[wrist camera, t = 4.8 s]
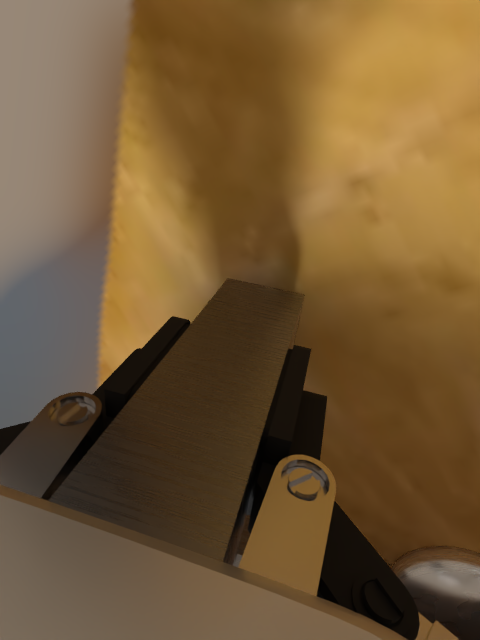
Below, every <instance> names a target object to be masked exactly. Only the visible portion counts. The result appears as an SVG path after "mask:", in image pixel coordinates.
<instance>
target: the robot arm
mask: <svg viewBox="0 0 480 640" xmlns="http://www.w3.org/2000/svg"><path fill="white" fill-rule="evenodd" d="M189 326H190V321H189V320H187V319H182V318H178V317H174V316H172V317H171V318H170V319H169V320H168V321H167V322H166V323H165V324H164V325H163V326H162V327H161V329H160V330H159V331H158V332H157V333H156V334H155V335H154V336H153V337H152V338H151V339H150V340H149V341H148V343H147V344H146V345H145V346H144V347H143V348H142V349H140V348H139V349H136V350H135V351H133V353H132V354H131V355H130V356H129V357H128V358H127V359H126V360H125V361H124V362H123V363H122V364H121V365H120V366H119V367H118V368H117V369H116V370H115V371H114V372H113V373H112V375H111V376H110V377H109V378H108V379H107V380H106V381H105V382H104V383H103V384H102V385H101V386H100V387H99V388H98V389H97V390H96V391H95V392H94V393H93V394H89V393H86V392H71V393H67V394H64V395H60V396H58V397H56V398H55V399H53V400H51V401H50V402H49V403H48V404H47V405H46V406H45V407H44V408H43V409H42V410H41V411H40V412H39V413H38V415H37V416H36V417H35V418H34V419H33V420H32V421H31V422H26V423H22V424H18V425H15V426H10V427H7V428H3V429H0V640H459V639H458V638H457V637H456V636H455V635H453V634H452V633H451V632H450V631H449V630H447V629H446V628H445V627H444V626H442V625H441V624H440V623H439V622H438V621H435V622H434V623H433V624H432V623H431V622H430V621H428V620H427V619H426V618H425V617H424V616H423V615H421V614H420V613H419V612H418V609H417V607H416V604H415V602H414V599H413V597H412V596H411V594H410V593H409V591H408V590H407V588H406V587H405V585H404V584H403V583H402V582H401V581H400V579H399V578H398V577H397V576H396V574H395V573H394V572H393V571H392V570H391V568H390V567H389V566H388V565H387V564H386V562H385V561H384V560H383V559H382V558H381V556H380V555H379V554H378V553H377V551H376V550H375V549H374V548H373V547H372V545H371V544H370V543H369V542H368V541H367V539H366V538H365V537H364V536H363V534H362V533H361V532H360V531H359V530H358V528H357V527H356V526H355V525H354V524H353V522H352V521H351V520H350V519H349V518H348V516H347V515H346V514H345V513H344V511H343V510H342V509H341V508H340V507H339V505H338V504H337V503H336V502H335V501H334V500H335V494H336V481H335V479H334V476H333V474H332V473H331V471H330V470H329V469H328V467H327V466H325V465H324V464H323V463H322V462H321V461H320V455H321V446H322V438H323V429H324V420H325V412H326V403H327V396H323V395H319V394H316V393H312V392H308V391H304V390H303V386H304V381H305V376H306V371H307V367H308V362H309V357H310V352H311V349H309V348H305V347H301V346H296V345H294V346H293V349H289V348H288V350H287V354H286V357H285V360H284V364H283V367H282V370H281V373H280V377H279V380H278V383H277V386H276V390H275V393H274V396H273V399H272V403H271V406H270V409H269V413H268V416H267V419H266V422H265V426H264V429H263V433H262V437H261V442H260V447H259V452H258V458H257V463H256V468H255V473H254V479H253V484H252V489H251V494H250V500H249V505H248V510H247V515H250V520H249V525H248V531H249V533H250V537H249V540H248V542H247V545H246V548H245V551H244V553H243V556H242V559H241V561H240V564H239V567H235V566H232V565H230V564H227V563H224V562H221V561H218V560H215V559H213V558H210V557H207V556H204V555H201V554H199V553H196V552H193V551H190V550H187V549H184V548H182V547H179V546H176V545H173V544H170V543H168V542H165V541H162V540H159V539H156V538H153V537H150V536H147V535H145V534H142V533H139V532H136V531H133V530H130V529H127V528H125V527H122V526H119V525H116V524H113V523H110V522H107V521H104V520H102V519H99V518H96V517H93V516H90V515H87V514H84V513H81V512H78V511H76V510H73V509H70V508H67V507H64V506H61V505H58V504H55V503H52V502H49V501H48V500H49V499H50V498H51V497H52V495H53V494H54V493H55V492H56V490H57V489H58V488H59V487H60V486H61V484H62V483H63V482H64V481H65V479H66V478H67V477H68V476H69V474H70V473H71V472H72V471H73V469H74V468H75V467H76V466H77V465H78V463H79V462H80V461H81V460H82V458H83V457H84V456H85V455H86V453H87V452H88V451H89V450H90V448H91V447H92V446H93V445H94V443H95V442H96V441H97V440H98V439H99V437H100V436H101V435H102V434H103V432H104V431H105V430H106V429H107V427H108V426H109V425H110V424H111V422H112V421H113V420H114V419H115V417H116V416H117V415H118V414H119V413H120V411H121V410H122V409H123V408H124V406H125V405H126V404H127V403H128V401H129V400H130V399H131V398H132V396H133V395H134V394H135V393H136V391H137V390H138V389H139V388H140V387H141V385H142V384H143V383H144V382H145V380H146V379H147V378H148V377H149V375H150V374H151V373H152V372H153V370H154V369H155V368H156V367H157V365H158V364H159V363H160V362H161V361H162V359H163V358H164V357H165V356H166V354H167V353H168V352H169V351H170V349H171V348H172V347H173V346H174V344H175V343H176V342H177V341H178V339H179V338H180V337H181V336H182V335H183V333H184V332H185V331H186V330H187V328H188V327H189Z"/></svg>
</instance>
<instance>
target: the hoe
mask: <svg viewBox="0 0 480 640" xmlns="http://www.w3.org/2000/svg"><path fill="white" fill-rule="evenodd" d="M303 299H304V295H303V294H299V293H294V292H289V291H285V290H280V289H275V288H270V287H266V286H261V285H256V284H252V283H247V282H242V281H238V280H233V279H227V280H226V281H225V283H224V284H223V285H222V286H221V287H220V289H219V290H218V291H217V292H216V294H215V295H214V296H213V297H212V299H211V300H210V301H209V302H208V304H207V305H206V306H205V307H204V309H203V310H202V311H201V312H200V313H199V315H198V316H197V317H196V318H195V320H194V321H193V322H192V323H191V325H190V326H189V327H188V328H187V330H186V331H185V332H184V333H183V335H182V336H181V337H180V338H179V339H178V341H177V342H176V343H175V344H174V346H173V347H172V348H171V349H170V351H169V352H168V353H167V354H166V356H165V357H164V358H163V359H162V361H161V362H160V363H159V364H158V365H157V367H156V368H155V369H154V370H153V372H152V373H151V374H150V375H149V377H148V378H147V379H146V380H145V382H144V383H143V384H142V385H141V387H140V388H139V389H138V390H137V391H136V393H135V394H134V395H133V396H132V398H131V399H130V400H129V401H128V403H127V404H126V405H125V406H124V408H123V409H122V410H121V411H120V413H119V414H118V415H117V416H116V417H115V419H114V420H113V421H112V422H111V424H110V425H109V426H108V427H107V429H106V430H105V431H104V432H103V434H102V435H101V436H100V437H99V439H98V440H97V441H96V442H95V443H94V445H93V446H92V447H91V448H90V450H89V451H88V452H87V453H86V455H85V456H84V457H83V458H82V460H81V461H80V462H79V463H78V465H77V466H76V467H75V468H74V469H73V471H72V472H71V473H70V474H69V476H68V477H67V478H66V479H65V481H64V482H63V483H62V484H61V486H60V487H59V488H58V489H57V490H56V492H55V493H54V494H53V495H52V497H51V498H50V499H49V500H48V501H49V502H52V503H55V504H58V505H61V506H64V507H67V508H70V509H73V510H76V511H78V512H81V513H84V514H87V515H90V516H93V517H96V518H99V519H102V520H104V521H107V522H110V523H113V524H116V525H119V526H122V527H125V528H127V529H130V530H133V531H136V532H139V533H142V534H145V535H147V536H150V537H153V538H156V539H159V540H162V541H165V542H168V543H170V544H173V545H176V546H179V547H182V548H184V549H187V550H190V551H193V552H196V553H199V554H201V555H204V556H207V557H210V558H213V559H215V560H218V561H221V562H224V563H227V564H230V565H232V566H235V567H239V564H240V561H241V559H242V556H243V553H244V551H245V548H246V545H247V542H248V540H249V537H250V533H249V531H248V525H249V520H250V515H247V510H248V505H249V500H250V494H251V489H252V484H253V479H254V473H255V468H256V463H257V458H258V452H259V447H260V442H261V437H262V433H263V429H264V426H265V422H266V419H267V416H268V413H269V409H270V406H271V403H272V399H273V396H274V393H275V390H276V386H277V383H278V380H279V377H280V373H281V370H282V367H283V364H284V360H285V357H286V354H287V350H288V348H289V349H293V346H294V342H295V337H296V332H297V328H298V323H299V318H300V314H301V309H302V304H303Z"/></svg>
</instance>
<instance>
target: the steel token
mask: <svg viewBox="0 0 480 640" xmlns="http://www.w3.org/2000/svg"><path fill="white" fill-rule="evenodd" d="M391 570H392V571H393V572H394V573H395V574H396V576H397V577H398V578H399V579H400V581H401V582H402V583H403V584H404V585H405V587H406V588H407V590H408V591H409V593H410V594H411V596H412V597H413V599H414V602H415V604H416V607H417V609H418V612H419V613H420V614H421V615H423V616H424V617H425V618H426V619H427V620H428V621H430V622H431V623H432V624H433V623H434V622H435V621H438V622H439V623H440V624H441V625H442V626H444V627H445V628H446V629H447V630H449V631H450V632H451V633H452V634H453V635H455V636H456V637H457V638H458V639H459V640H480V553H477V552H474V551H471V550H467V549H463V548H457V547H448V546H435V547H426V548H421V549H417V550H414V551H411V552H409V553H407V554H405V555H403V556H402V557H400V558H399V559H398V560H397V561H396V562H395V564H394V565H393V567H392V569H391Z"/></svg>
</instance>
